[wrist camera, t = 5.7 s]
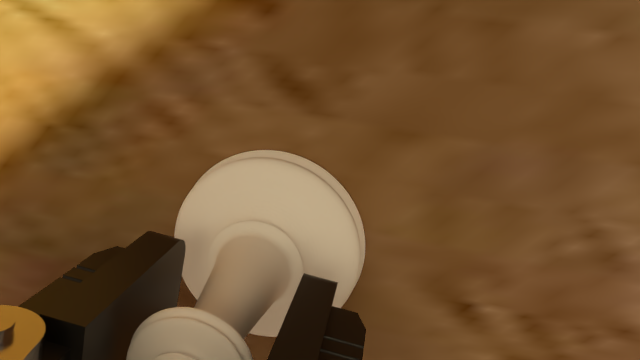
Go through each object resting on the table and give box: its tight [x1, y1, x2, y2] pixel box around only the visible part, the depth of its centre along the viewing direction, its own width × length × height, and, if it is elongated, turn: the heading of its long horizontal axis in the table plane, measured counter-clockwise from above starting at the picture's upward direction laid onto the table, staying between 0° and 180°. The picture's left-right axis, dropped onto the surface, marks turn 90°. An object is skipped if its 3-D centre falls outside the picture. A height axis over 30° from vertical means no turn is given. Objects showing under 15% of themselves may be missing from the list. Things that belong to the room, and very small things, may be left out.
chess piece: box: [126, 150, 365, 360], centre depth 9 cm, size 5×5×10 cm
